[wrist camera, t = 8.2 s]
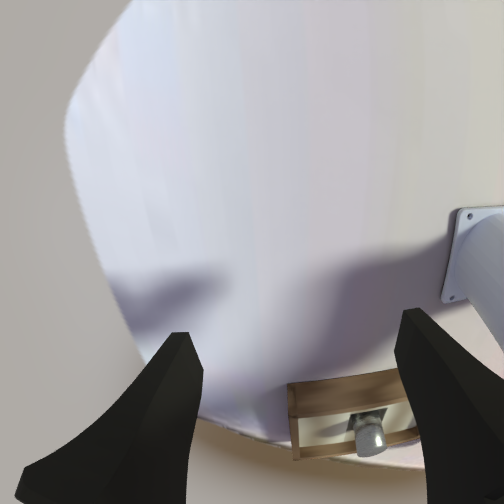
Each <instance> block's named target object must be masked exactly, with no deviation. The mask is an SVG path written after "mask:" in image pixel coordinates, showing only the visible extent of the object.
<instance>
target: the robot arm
mask: <svg viewBox="0 0 504 504" xmlns="http://www.w3.org/2000/svg"><path fill="white" fill-rule="evenodd" d="M469 213H470V215H469V217H467V216H468V214H469ZM464 299H468V300H469V301H470V302H471V304H472V305H473V307H474V308H475V310H476V311H477V312H478V314H479V315H480V317H481V318H482V320H483V321H484V323H485V324H486V326H487V327H488V329H489V330H490V332H491V333H492V335H493V336H494V338H495V340H496V341H497V343H498V344H499V346H500V348H501V349H502V351H503V352H504V206H491V207H474V208H462V209H460V210H459V212H458V214H457V219H456V226H455V232H454V238H453V244H452V250H451V255H450V260H449V265H448V269H447V274H446V278H445V282H444V287H443V291H442V295H441V301H442V302H443V303H450V302H455V301H460V300H464ZM394 354H395V358H396V363H397V367H398V371H399V375H400V378H401V381H402V384H403V387H404V389H405V392H406V395H407V398H408V401H409V404H410V406H411V409H412V412H413V415H414V418H415V421H416V424H417V427H418V431H419V435H420V439H421V445H422V450H423V456H424V464H425V472H426V483H427V504H504V379H502V378H501V377H499V376H498V375H497V374H495V373H494V372H492V371H491V370H490V369H488V368H487V367H486V366H485V365H483V364H482V363H481V362H480V361H479V360H477V359H476V358H475V357H474V356H472V355H471V354H470V353H469V352H468V351H467V350H465V349H464V348H463V347H462V346H461V345H460V344H459V343H458V342H456V341H455V340H454V339H453V338H452V337H451V336H450V335H449V334H448V333H447V332H446V331H444V330H443V329H442V328H441V327H440V326H439V325H438V324H437V323H436V322H435V321H434V320H433V319H431V318H430V317H429V316H428V315H427V314H426V313H425V312H424V311H423V310H421V309H420V308H414V309H408V310H403V315H402V319H401V324H400V328H399V333H398V337H397V341H396V345H395V349H394ZM203 371H204V370H203V367H202V365H201V363H200V360H199V358H198V355H197V353H196V350H195V347H194V345H193V342H192V340H191V337H190V335H189V332H172V333H171V334H170V336H169V337H168V338H167V339H166V341H165V342H164V343H163V344H162V346H161V347H160V348H159V350H158V351H157V352H156V354H155V355H154V356H153V358H152V359H151V360H150V361H149V363H148V364H147V365H146V367H145V368H144V369H143V370H142V372H141V373H140V374H139V375H138V377H137V378H136V379H135V380H134V381H133V383H132V384H131V385H130V386H129V387H128V388H127V389H126V391H125V392H124V393H123V394H122V395H121V396H120V398H119V399H118V400H117V401H116V402H115V403H114V404H113V405H112V406H111V407H110V408H109V409H108V410H107V411H106V412H105V413H104V414H103V415H102V416H101V417H100V418H99V419H97V420H96V421H95V422H94V423H93V424H92V425H90V426H89V427H88V428H87V429H85V430H84V431H83V432H82V433H80V434H79V435H78V436H77V437H76V438H74V439H73V440H71V441H70V442H68V443H67V444H66V445H64V446H63V447H61V448H59V449H58V450H56V451H55V452H54V453H51V454H50V455H48V456H46V457H45V458H43V459H40V460H38V461H37V462H35V463H33V464H31V465H29V466H26V467H25V468H24V470H23V473H22V476H21V478H20V481H19V484H18V487H17V490H16V493H15V497H16V499H17V500H19V501H20V502H22V503H24V504H186V485H187V471H188V459H189V453H190V447H191V442H192V438H193V433H194V428H195V423H196V419H197V415H198V410H199V405H200V400H201V395H202V384H203Z"/></svg>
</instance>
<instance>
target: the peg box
mask: <svg viewBox="0 0 504 504" xmlns="http://www.w3.org/2000/svg"><path fill="white" fill-rule="evenodd" d="M287 393H288V416H289V425H290V435H291V444H292V453H293V460H295V461H296V460H307V459H317V458H326V457H333V456H340V455H347V454H353V453H357V449H356V442H355V436H354V430H353V424H352V418H351V415H350V414H355V413H361V412H367V411H372V410H377V409H378V410H379V414H380V418H381V422H382V427H383V431H384V436H385V440H386V445H387V447H388V446H392V445H396V444H400V443H404V442H408V441H412V440H415V439H419V438H420V435H419V431H418V427H417V424H416V421H415V418H414V415H413V412H412V409H411V406H410V404H409V401H408V398H407V395H406V392H405V389H404V387H403V384H402V381H401V378H400V375H399V371H398V368H395V369H390V370H385V371H380V372H374V373H368V374H363V375H356V376H350V377H343V378H336V379H328V380H320V381H311V382H301V383H291V384H287Z"/></svg>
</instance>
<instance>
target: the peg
mask: <svg viewBox="0 0 504 504" xmlns="http://www.w3.org/2000/svg"><path fill="white" fill-rule="evenodd" d="M351 418H352V424H353V430H354V436H355V442H356V449H357V455H358V456H359V457H370V456H374V455H377V454H379V453H381V452H383V451H385V450H386V449H387V445H386V440H385V436H384V431H383V427H382V422H381V418H380V414H379V410H378V409H377V410H372V411H367V412H361V413H355V414H351Z"/></svg>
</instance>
